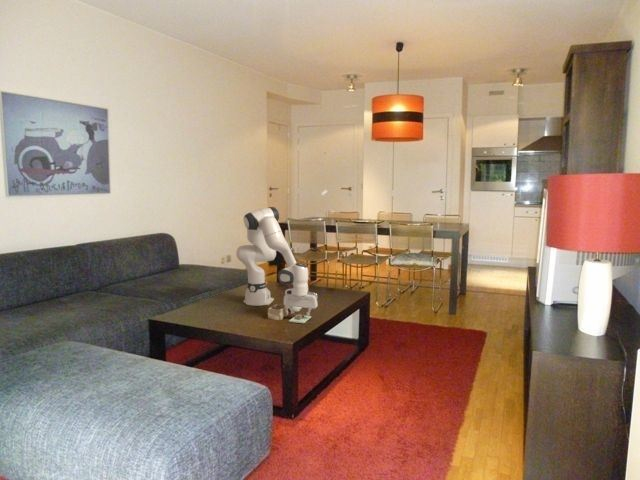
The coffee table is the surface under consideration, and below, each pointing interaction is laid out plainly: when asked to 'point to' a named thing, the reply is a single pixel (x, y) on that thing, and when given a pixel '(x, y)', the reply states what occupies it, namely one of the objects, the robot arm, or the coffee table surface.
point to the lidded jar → (295, 308)
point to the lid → (300, 318)
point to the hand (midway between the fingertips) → (300, 314)
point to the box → (277, 312)
